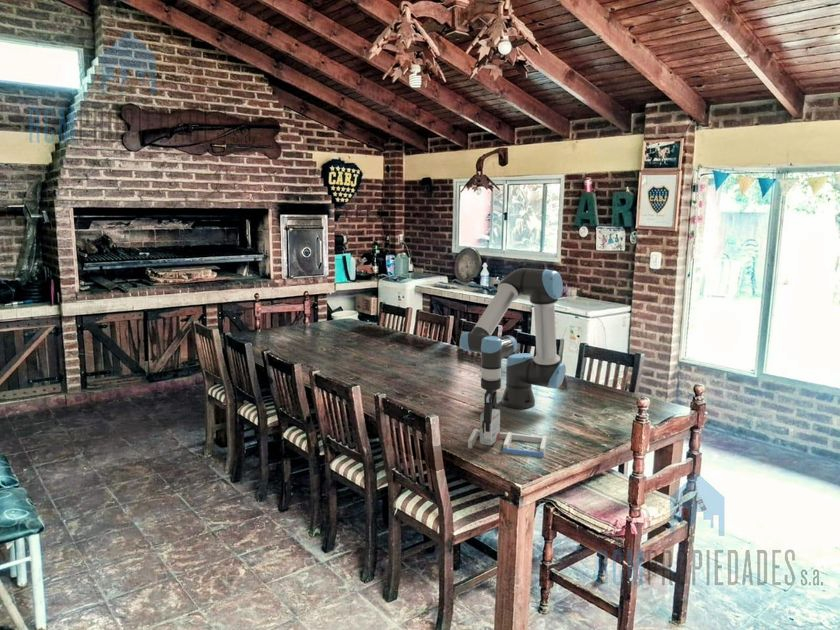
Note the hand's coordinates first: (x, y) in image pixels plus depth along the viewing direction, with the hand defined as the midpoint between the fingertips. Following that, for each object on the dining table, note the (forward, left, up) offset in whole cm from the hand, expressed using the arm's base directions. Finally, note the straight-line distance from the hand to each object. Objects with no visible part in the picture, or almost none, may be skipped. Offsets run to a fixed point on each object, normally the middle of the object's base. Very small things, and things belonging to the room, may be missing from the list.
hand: (490, 433), depth 246 cm
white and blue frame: (-3, +7, -5) cm, 9 cm away
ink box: (0, 0, -3) cm, 3 cm away
